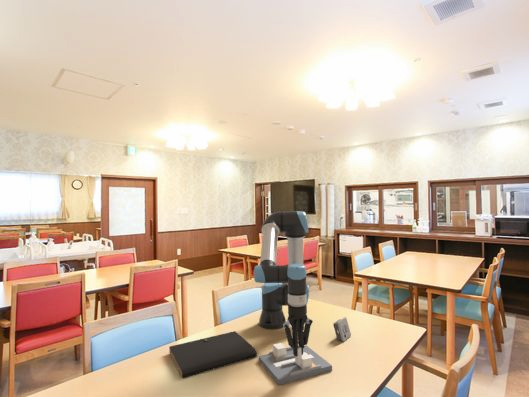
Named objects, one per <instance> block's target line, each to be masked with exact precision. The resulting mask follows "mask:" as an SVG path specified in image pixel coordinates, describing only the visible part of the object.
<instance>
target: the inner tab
mask: <svg viewBox="0 0 529 397" xmlns="http://www.w3.org/2000/svg"><path fill="white" fill-rule="evenodd" d="M286 348H287V346H285V344H283V343H282V342H278V343H275V344H272V351H273V354H274V355H275V356H276V357H277V358H280V357H284V356H286Z"/></svg>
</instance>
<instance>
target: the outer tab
mask: <svg viewBox="0 0 529 397" xmlns="http://www.w3.org/2000/svg"><path fill="white" fill-rule="evenodd" d="M299 366H300V367H301V368H302V369H305V368H309V367H312V357H311V356H309V355H308V354H307V353H306V352H304V353H303V355H302V365H299Z"/></svg>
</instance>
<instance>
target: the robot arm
mask: <svg viewBox="0 0 529 397" xmlns="http://www.w3.org/2000/svg"><path fill="white" fill-rule="evenodd" d="M308 233H309V225H308V217H307V213H306V212H305V211H301V210H300V211H298V210H290V211H288V210H287V211H280V210H279V211H275V212H272V213H271V214H269V215H268V216H267V217H266V218H265V219H264V221H263V222H262V225H261V234H262V239H261V240H262V241H261V248H260V249H261V250H260V257H259V258H260V260H259V264H258V265H255V266H254V269H253V278H254V282H256V283H260V284H262V286H261V313H260V316H259V319H258V320H259V321H258V324H259V326H260V327H261V328H264V329H268V330H275V329H280V328H284V331H285V335H286V340H287V344H288V346H289V347H292V348H293V355H294V356H295V363H296V364H297V365H302V355H303V348H304V347H305V345H307V346H308V342H309V338H310V332H311V326H312V324H313V320H312V319H311V318H310V317H308V310H307V309H308V306H307V305H308V304H309V296H310V285H309V284H307V269H306V268H307V267H306V265H305V264H304V238H305V237H307V234H308ZM279 234H284V237H285V238H286V239H287V265H286V264H285V265H282V264H281V265H280V264H279V265H277V260H278V257H277V256H278V255H277V254H278V236H279ZM285 306H286V307H287V313H288V316H287V318H286V317H285V313H284V311H283V307H285ZM291 330H292V331H291Z"/></svg>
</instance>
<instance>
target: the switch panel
mask: <svg viewBox="0 0 529 397" xmlns="http://www.w3.org/2000/svg"><path fill="white" fill-rule="evenodd" d="M304 346H305V347H304V348H303V353H304V352H306V353H307V354H308V355H309V356H311V357H312V367H309V368H305V369H302V368H301V367H300V366H299V365H297V364H296V363H295V356H294V355H293V348H292V347H290V346H289V347H287V346H286V356H284V357H280V358H277V357H276V356H275V355H274V354H273V350H271V351H269V352H268V353H265V354H261V355H257V357H258V362H259V363H260V365H261V366H262V367H263V368H264V369H265V370H266V372H267V373H268V374H269V375H270V376H271V377H272V379H273V380H274V381H275V382H276V384H277V385H278V386H281V385H284V384H285V385H286V384H289V383H292V382H295V381H299V380H304V379H307V378H311V377H313V376H316V375H321V374H324V373H329V372H332V371H333V365H332V364H331V363H329V362H328V361H327V360H326V359H325V358H324V357H322V356H321V355H319V354H318V353H317V352H315V351H314V349H312V348H310V346H308V344H307V345H304Z"/></svg>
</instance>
